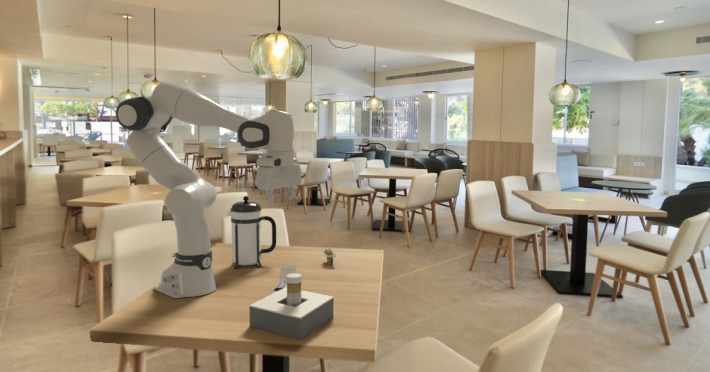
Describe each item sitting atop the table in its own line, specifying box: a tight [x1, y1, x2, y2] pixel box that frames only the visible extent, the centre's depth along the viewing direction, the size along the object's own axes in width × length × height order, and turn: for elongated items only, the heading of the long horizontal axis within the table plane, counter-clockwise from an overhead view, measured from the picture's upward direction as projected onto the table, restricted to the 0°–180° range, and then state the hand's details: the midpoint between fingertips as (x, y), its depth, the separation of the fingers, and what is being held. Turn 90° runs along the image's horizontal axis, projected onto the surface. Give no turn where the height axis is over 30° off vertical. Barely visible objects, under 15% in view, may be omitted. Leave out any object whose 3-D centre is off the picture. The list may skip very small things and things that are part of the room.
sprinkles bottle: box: [286, 272, 303, 307], centre depth 135 cm, size 5×5×14 cm
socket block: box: [248, 287, 335, 340], centre depth 135 cm, size 18×18×6 cm
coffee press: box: [226, 195, 277, 270], centre depth 191 cm, size 17×16×30 cm
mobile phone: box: [270, 266, 297, 295], centre depth 160 cm, size 6×6×25 cm
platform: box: [322, 247, 337, 266], centre depth 196 cm, size 12×18×7 cm, turn 18°
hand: (280, 201), depth 149 cm, fingers open, 8 cm apart
